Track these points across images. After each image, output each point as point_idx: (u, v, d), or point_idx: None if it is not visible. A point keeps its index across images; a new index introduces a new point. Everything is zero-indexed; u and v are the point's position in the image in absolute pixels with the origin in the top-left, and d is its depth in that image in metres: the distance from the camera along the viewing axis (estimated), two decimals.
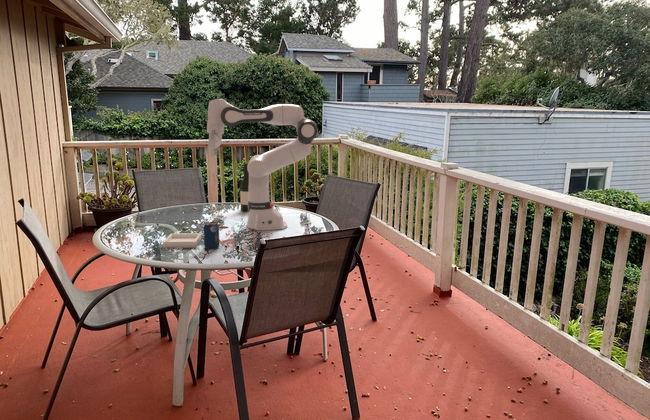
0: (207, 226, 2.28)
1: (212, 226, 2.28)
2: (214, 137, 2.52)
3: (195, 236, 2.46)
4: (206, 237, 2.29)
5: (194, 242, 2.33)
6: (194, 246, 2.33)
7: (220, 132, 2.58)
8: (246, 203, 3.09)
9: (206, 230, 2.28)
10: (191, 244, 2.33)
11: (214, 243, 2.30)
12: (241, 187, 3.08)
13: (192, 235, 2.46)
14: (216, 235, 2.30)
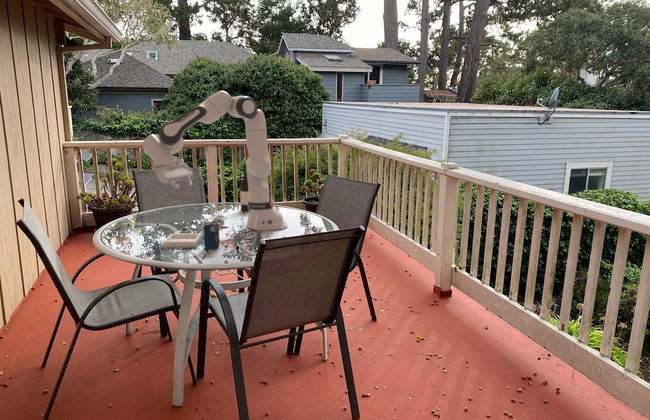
0: (207, 226, 2.28)
1: (212, 226, 2.28)
2: (159, 170, 2.25)
3: (195, 236, 2.46)
4: (206, 237, 2.29)
5: (194, 242, 2.33)
6: (194, 246, 2.33)
7: (167, 162, 2.30)
8: (246, 203, 3.09)
9: (206, 230, 2.28)
10: (191, 244, 2.33)
11: (214, 243, 2.30)
12: (241, 187, 3.08)
13: (192, 235, 2.46)
14: (216, 235, 2.30)
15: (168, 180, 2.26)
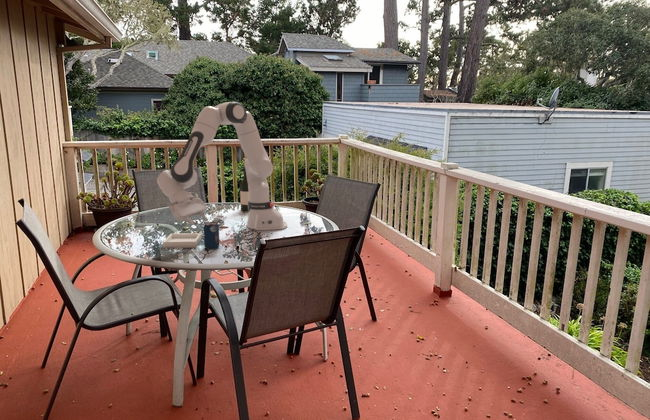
0: (207, 226, 2.28)
1: (212, 226, 2.28)
2: (174, 207, 2.25)
3: (195, 236, 2.46)
4: (206, 237, 2.29)
5: (194, 242, 2.33)
6: (194, 246, 2.33)
7: (182, 198, 2.30)
8: (246, 203, 3.09)
9: (206, 230, 2.28)
10: (191, 244, 2.33)
11: (214, 243, 2.30)
12: (241, 187, 3.08)
13: (192, 235, 2.46)
14: (216, 235, 2.30)
15: (183, 217, 2.26)
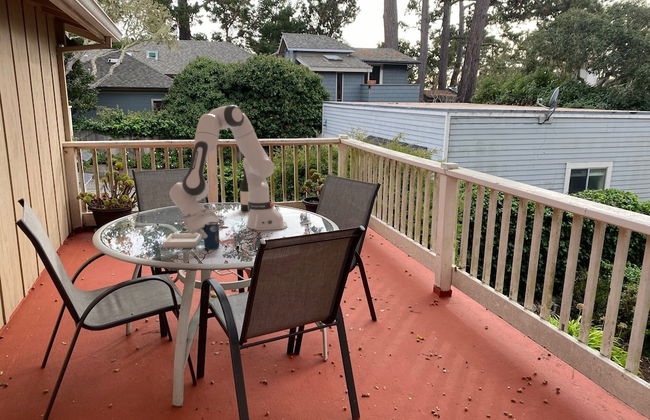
0: (207, 226, 2.28)
1: (212, 226, 2.28)
2: (187, 220, 2.24)
3: (195, 236, 2.46)
4: None
5: (194, 242, 2.33)
6: (194, 246, 2.33)
7: (195, 211, 2.29)
8: (246, 203, 3.09)
9: (206, 230, 2.28)
10: (191, 244, 2.33)
11: (214, 243, 2.30)
12: (241, 187, 3.08)
13: (192, 235, 2.46)
14: (216, 235, 2.30)
15: (196, 230, 2.25)
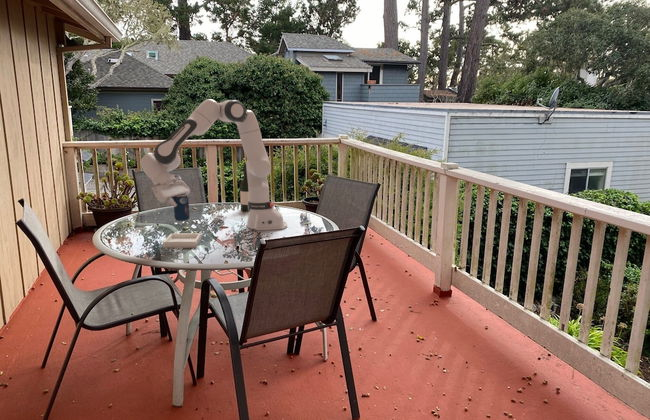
0: (177, 197, 2.32)
1: (181, 198, 2.32)
2: (156, 189, 2.27)
3: (195, 236, 2.46)
4: (176, 209, 2.33)
5: (194, 242, 2.33)
6: (194, 246, 2.33)
7: (165, 180, 2.33)
8: (246, 203, 3.09)
9: None
10: (191, 244, 2.33)
11: (183, 215, 2.34)
12: (241, 187, 3.08)
13: (192, 235, 2.46)
14: (186, 207, 2.34)
15: (165, 199, 2.28)
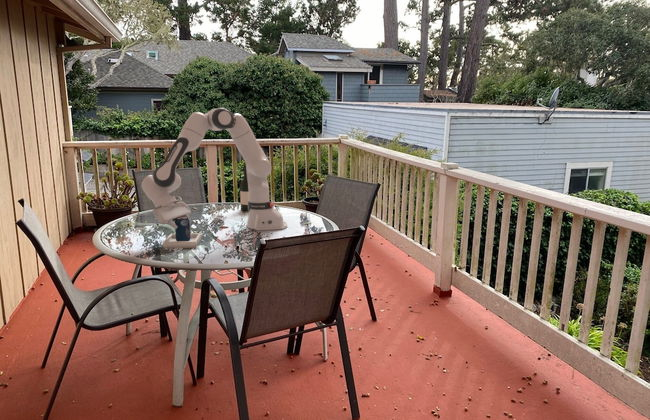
0: (178, 220, 2.35)
1: (183, 220, 2.35)
2: (158, 211, 2.30)
3: (195, 236, 2.46)
4: (177, 231, 2.36)
5: (194, 242, 2.33)
6: (194, 246, 2.33)
7: (166, 202, 2.35)
8: (246, 203, 3.09)
9: (177, 224, 2.35)
10: (191, 244, 2.33)
11: (184, 237, 2.36)
12: (241, 187, 3.08)
13: (192, 235, 2.46)
14: (187, 229, 2.36)
15: (167, 221, 2.31)
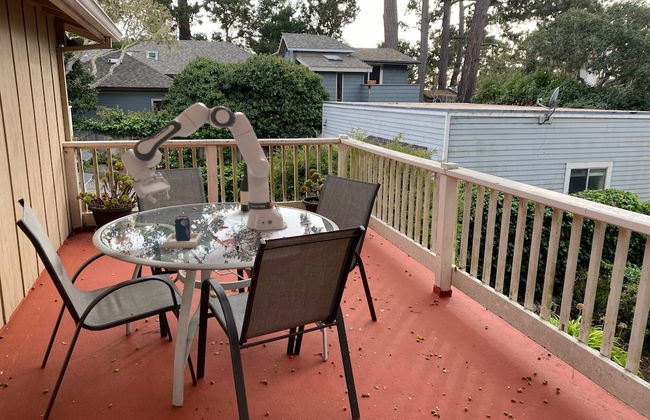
0: (178, 220, 2.35)
1: (183, 220, 2.35)
2: (136, 185, 2.33)
3: (195, 236, 2.46)
4: (177, 231, 2.36)
5: (194, 242, 2.33)
6: (194, 246, 2.33)
7: (145, 177, 2.38)
8: (246, 203, 3.09)
9: (177, 224, 2.35)
10: (191, 244, 2.33)
11: (184, 237, 2.36)
12: (241, 187, 3.08)
13: (192, 235, 2.46)
14: (187, 229, 2.36)
15: (145, 195, 2.34)
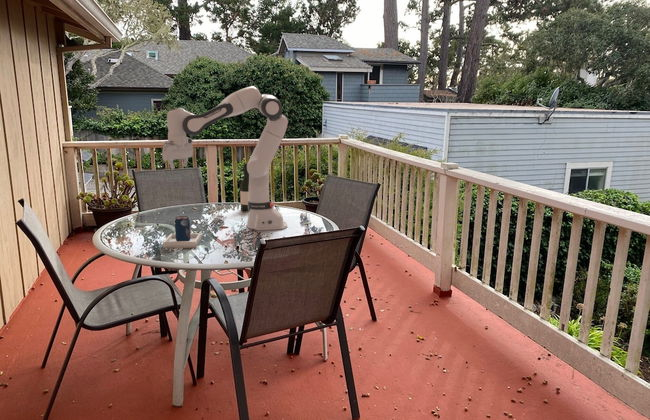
0: (178, 220, 2.35)
1: (183, 220, 2.35)
2: (167, 148, 2.42)
3: (195, 236, 2.46)
4: (177, 231, 2.36)
5: (194, 242, 2.33)
6: (194, 246, 2.33)
7: (178, 142, 2.47)
8: (246, 203, 3.09)
9: (177, 224, 2.35)
10: (191, 244, 2.33)
11: (184, 237, 2.36)
12: (241, 187, 3.08)
13: (192, 235, 2.46)
14: (187, 229, 2.36)
15: (168, 160, 2.45)
